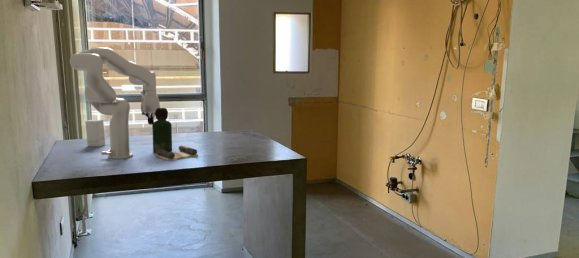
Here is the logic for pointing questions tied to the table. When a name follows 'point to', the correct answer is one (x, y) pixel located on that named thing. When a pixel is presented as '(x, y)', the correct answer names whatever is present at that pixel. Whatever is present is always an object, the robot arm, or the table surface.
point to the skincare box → (95, 133)
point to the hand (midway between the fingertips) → (150, 124)
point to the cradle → (176, 153)
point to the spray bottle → (162, 131)
